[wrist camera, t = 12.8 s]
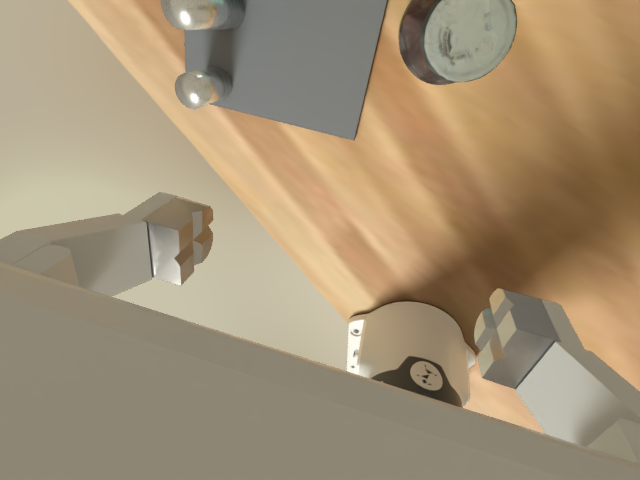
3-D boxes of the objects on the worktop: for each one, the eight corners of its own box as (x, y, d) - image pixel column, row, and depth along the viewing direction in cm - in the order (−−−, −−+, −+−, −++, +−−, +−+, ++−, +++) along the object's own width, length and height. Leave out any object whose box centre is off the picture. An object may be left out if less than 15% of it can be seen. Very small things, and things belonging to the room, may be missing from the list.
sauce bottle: (389, 56, 34) (366, 83, 18) (415, -21, 31) (415, -76, 14) (454, 76, 34) (492, 123, 17) (487, 1, 31) (572, -30, 14)
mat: (354, 138, 39) (353, 140, 39) (189, 97, 41) (186, 98, 41) (415, -121, 28) (415, -123, 27) (183, -162, 30) (179, -165, 29)
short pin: (232, 101, 40) (205, 112, 35) (205, 94, 40) (175, 104, 35) (233, 70, 38) (205, 77, 33) (205, 64, 38) (174, 69, 33)
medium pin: (244, 32, 36) (198, 33, 28) (214, 25, 36) (162, 25, 28) (246, -6, 34) (198, -15, 26) (215, -12, 34) (159, -24, 27)
